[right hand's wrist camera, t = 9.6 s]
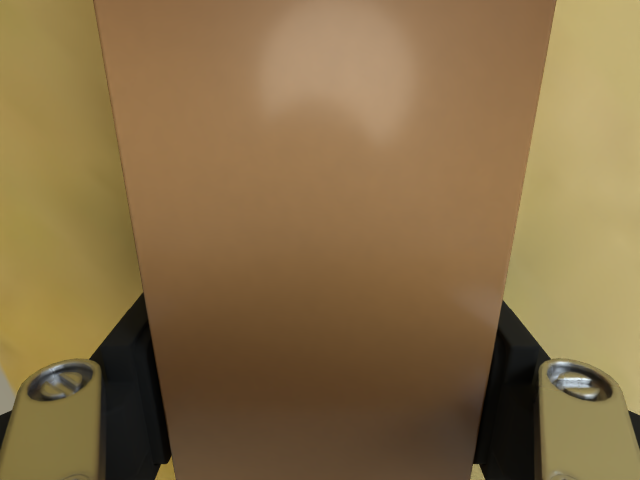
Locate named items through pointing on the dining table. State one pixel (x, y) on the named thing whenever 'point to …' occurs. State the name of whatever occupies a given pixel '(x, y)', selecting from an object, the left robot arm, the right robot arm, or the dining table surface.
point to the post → (323, 222)
